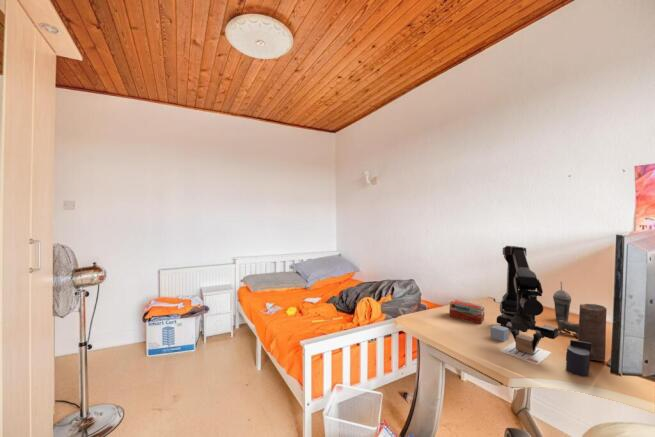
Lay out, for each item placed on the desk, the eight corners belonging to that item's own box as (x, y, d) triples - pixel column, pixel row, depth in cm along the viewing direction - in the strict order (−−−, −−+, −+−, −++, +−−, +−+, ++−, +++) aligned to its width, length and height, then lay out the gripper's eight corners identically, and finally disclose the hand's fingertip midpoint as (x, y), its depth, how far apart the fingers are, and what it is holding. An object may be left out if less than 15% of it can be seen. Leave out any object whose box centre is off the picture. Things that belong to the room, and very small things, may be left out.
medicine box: (484, 320, 139) (484, 304, 139) (481, 324, 132) (481, 308, 132) (453, 313, 148) (453, 298, 148) (449, 317, 142) (449, 302, 142)
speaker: (566, 363, 95) (568, 336, 94) (589, 371, 91) (591, 342, 90) (563, 373, 90) (565, 344, 89) (587, 382, 86) (590, 352, 85)
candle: (611, 365, 95) (612, 309, 95) (588, 363, 97) (588, 307, 97) (594, 354, 103) (594, 302, 103) (572, 353, 104) (573, 301, 104)
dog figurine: (556, 334, 122) (556, 317, 122) (557, 330, 126) (557, 314, 126) (593, 342, 113) (593, 325, 114) (593, 338, 117) (593, 321, 118)
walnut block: (520, 345, 107) (520, 333, 107) (535, 350, 103) (535, 337, 103) (515, 349, 104) (515, 336, 104) (530, 354, 100) (531, 341, 100)
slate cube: (495, 335, 119) (495, 324, 119) (508, 339, 115) (508, 328, 115) (490, 338, 116) (490, 327, 116) (503, 342, 112) (503, 330, 112)
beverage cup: (556, 321, 137) (556, 282, 137) (550, 317, 144) (550, 280, 144) (574, 324, 134) (574, 284, 134) (567, 319, 141) (567, 281, 141)
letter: (515, 341, 113) (515, 340, 113) (551, 353, 104) (551, 352, 104) (499, 351, 104) (499, 351, 104) (537, 365, 94) (537, 364, 94)
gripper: (490, 304, 107) (490, 343, 107) (549, 319, 92) (549, 364, 92) (502, 300, 113) (502, 336, 113) (559, 312, 98) (558, 355, 98)
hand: (525, 347), depth 104 cm, fingers closed on walnut block, 5 cm apart
